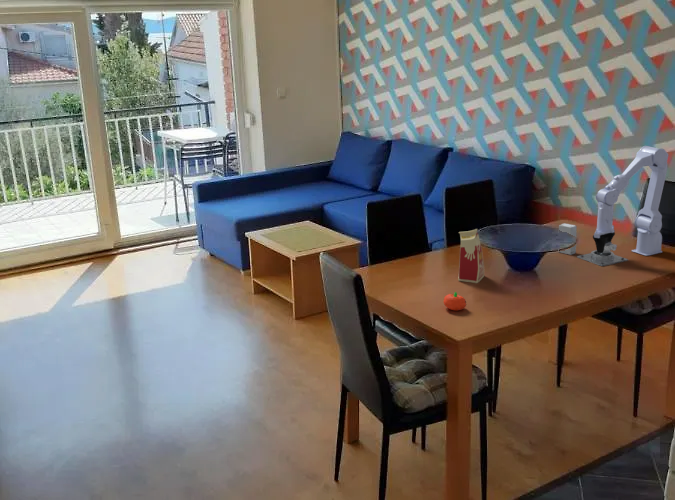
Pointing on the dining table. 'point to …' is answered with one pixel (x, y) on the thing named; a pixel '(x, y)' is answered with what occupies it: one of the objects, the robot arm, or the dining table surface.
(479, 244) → the milk carton
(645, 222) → the robot arm
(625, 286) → the dining table surface
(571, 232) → the skincare box
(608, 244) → the cylinder with square knob
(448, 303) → the pumpkin
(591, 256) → the duct flange
